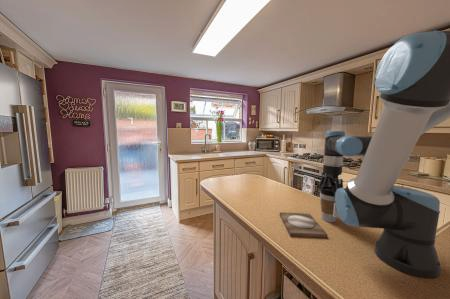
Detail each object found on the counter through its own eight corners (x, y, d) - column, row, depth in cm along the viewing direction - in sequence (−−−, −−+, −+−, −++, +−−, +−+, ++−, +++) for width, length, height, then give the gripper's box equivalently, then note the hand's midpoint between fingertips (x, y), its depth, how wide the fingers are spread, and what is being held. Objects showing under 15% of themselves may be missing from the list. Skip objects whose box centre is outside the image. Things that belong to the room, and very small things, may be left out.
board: (327, 237, 73) (327, 233, 73) (289, 236, 74) (290, 231, 74) (309, 216, 91) (309, 212, 91) (279, 215, 92) (279, 211, 91)
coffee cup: (342, 224, 83) (345, 191, 82) (321, 222, 85) (323, 189, 84) (335, 216, 92) (337, 185, 90) (316, 214, 93) (318, 184, 92)
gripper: (359, 171, 73) (353, 223, 75) (328, 160, 98) (325, 200, 100) (338, 170, 74) (334, 223, 76) (313, 160, 98) (310, 199, 101)
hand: (329, 210), depth 88 cm, fingers open, 13 cm apart
